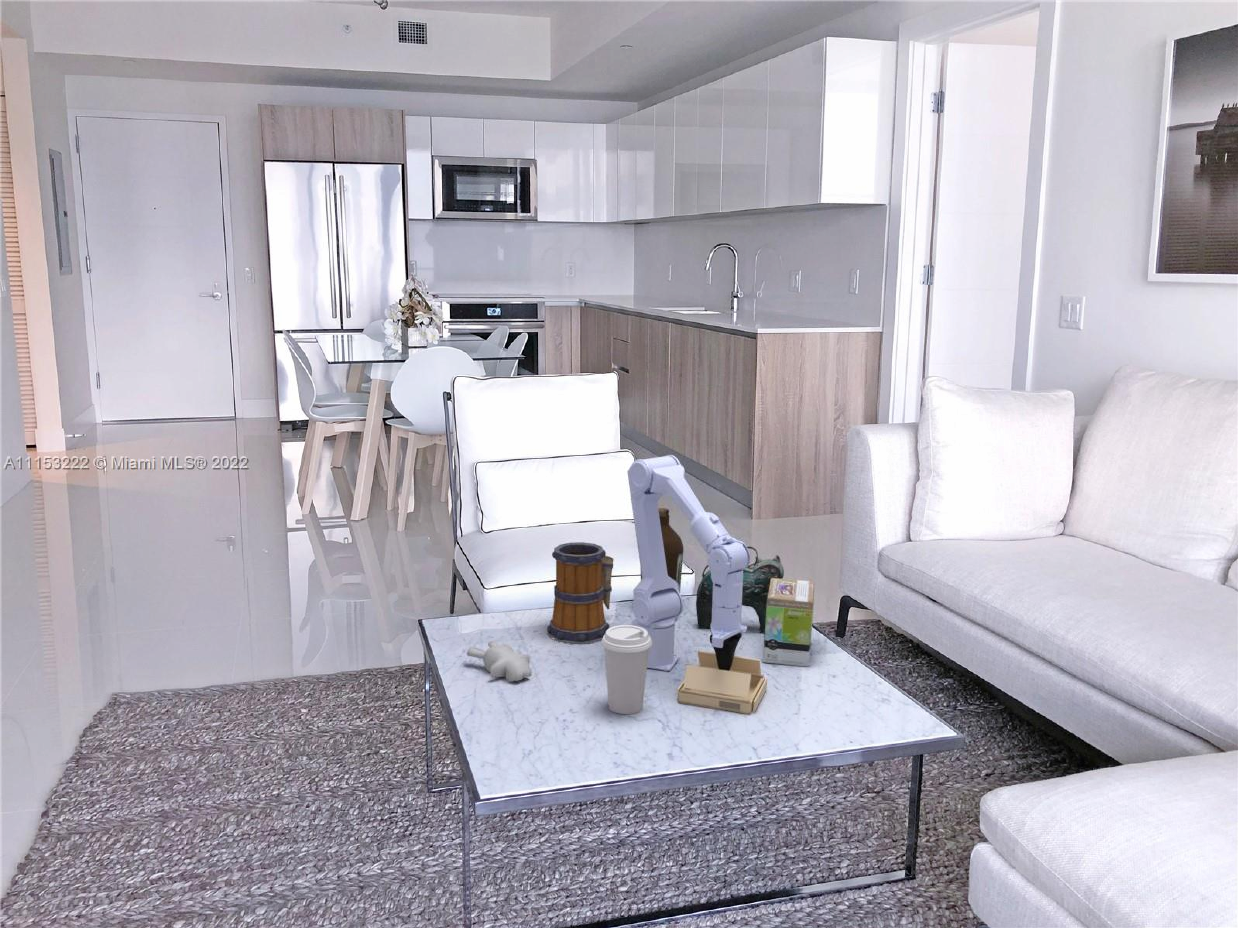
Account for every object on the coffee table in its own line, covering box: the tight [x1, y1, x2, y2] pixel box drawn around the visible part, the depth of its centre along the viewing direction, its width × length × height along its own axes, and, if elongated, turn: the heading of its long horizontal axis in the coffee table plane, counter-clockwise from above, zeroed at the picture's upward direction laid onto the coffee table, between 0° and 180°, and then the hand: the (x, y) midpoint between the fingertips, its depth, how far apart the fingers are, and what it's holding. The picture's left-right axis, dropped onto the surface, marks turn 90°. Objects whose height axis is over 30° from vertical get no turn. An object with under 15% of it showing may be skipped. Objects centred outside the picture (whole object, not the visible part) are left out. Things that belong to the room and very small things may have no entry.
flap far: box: [697, 650, 762, 675], centre depth 199 cm, size 13×1×4 cm
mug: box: [546, 541, 614, 645], centre depth 228 cm, size 19×14×20 cm
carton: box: [676, 664, 768, 715], centre depth 195 cm, size 15×13×3 cm
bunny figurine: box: [466, 640, 533, 683], centre depth 205 cm, size 10×5×15 cm
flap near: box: [683, 664, 751, 698], centre depth 190 cm, size 13×1×4 cm, turn 70°
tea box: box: [762, 578, 815, 667], centre depth 217 cm, size 15×10×15 cm
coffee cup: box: [600, 624, 652, 715], centre depth 188 cm, size 10×10×15 cm
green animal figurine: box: [695, 545, 785, 634], centre depth 229 cm, size 20×6×20 cm, turn 82°
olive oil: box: [639, 507, 684, 593], centre depth 243 cm, size 11×11×25 cm
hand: (724, 669), depth 196 cm, fingers closed
